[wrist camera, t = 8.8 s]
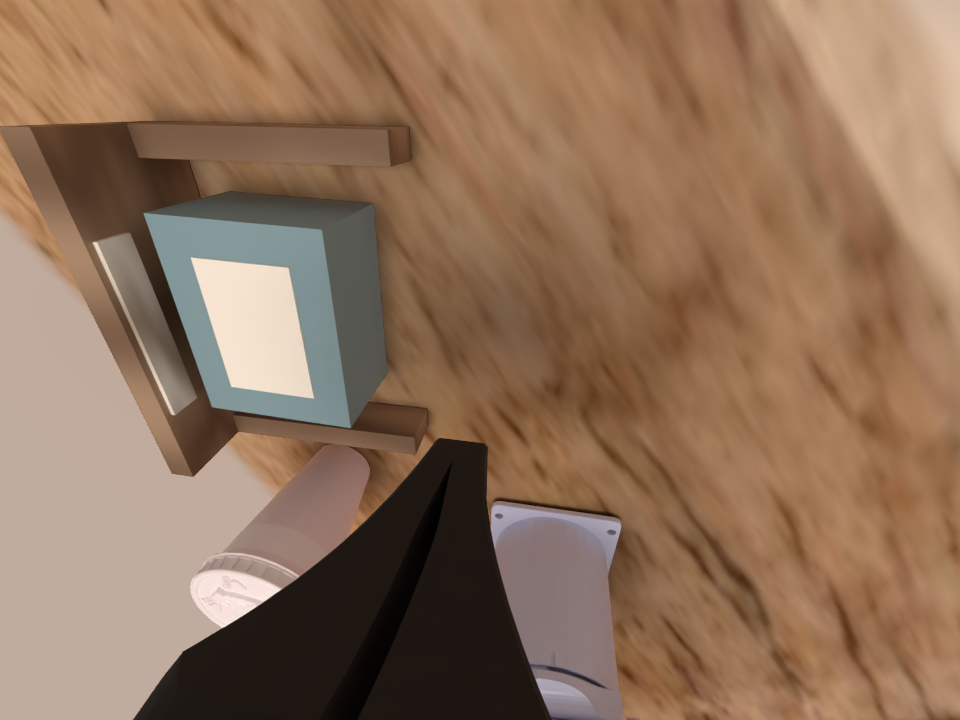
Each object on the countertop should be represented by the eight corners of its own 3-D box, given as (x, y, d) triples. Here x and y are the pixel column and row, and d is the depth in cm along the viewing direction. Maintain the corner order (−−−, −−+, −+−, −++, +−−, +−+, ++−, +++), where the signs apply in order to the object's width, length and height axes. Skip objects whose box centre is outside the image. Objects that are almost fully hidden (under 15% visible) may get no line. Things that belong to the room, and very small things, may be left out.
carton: (388, 370, 24) (349, 429, 19) (272, 355, 25) (210, 408, 20) (375, 202, 19) (320, 230, 15) (232, 190, 20) (140, 213, 16)
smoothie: (358, 512, 30) (227, 773, 18) (281, 461, 29) (85, 709, 17) (408, 469, 27) (289, 750, 15) (325, 409, 26) (122, 669, 14)
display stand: (428, 425, 25) (393, 506, 20) (246, 403, 27) (171, 473, 21) (409, 126, 17) (344, 135, 12) (151, 121, 19) (-3, 126, 14)
